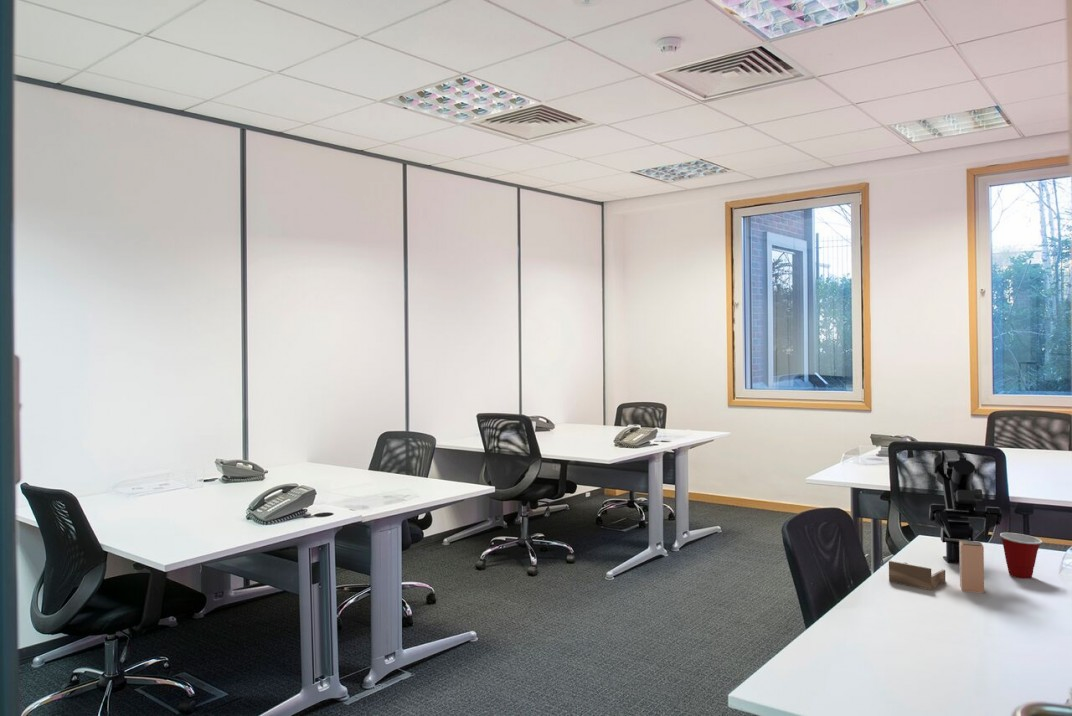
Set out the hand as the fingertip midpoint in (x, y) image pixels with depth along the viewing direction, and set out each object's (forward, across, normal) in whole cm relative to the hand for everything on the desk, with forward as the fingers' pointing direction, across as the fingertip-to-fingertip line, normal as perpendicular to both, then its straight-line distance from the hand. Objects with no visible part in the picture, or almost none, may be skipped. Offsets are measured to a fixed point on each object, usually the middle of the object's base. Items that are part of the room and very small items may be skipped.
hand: (968, 538), depth 220 cm
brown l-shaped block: (+12, -14, +6) cm, 19 cm away
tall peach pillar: (+14, 0, +4) cm, 15 cm away
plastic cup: (+1, +16, +18) cm, 24 cm away
